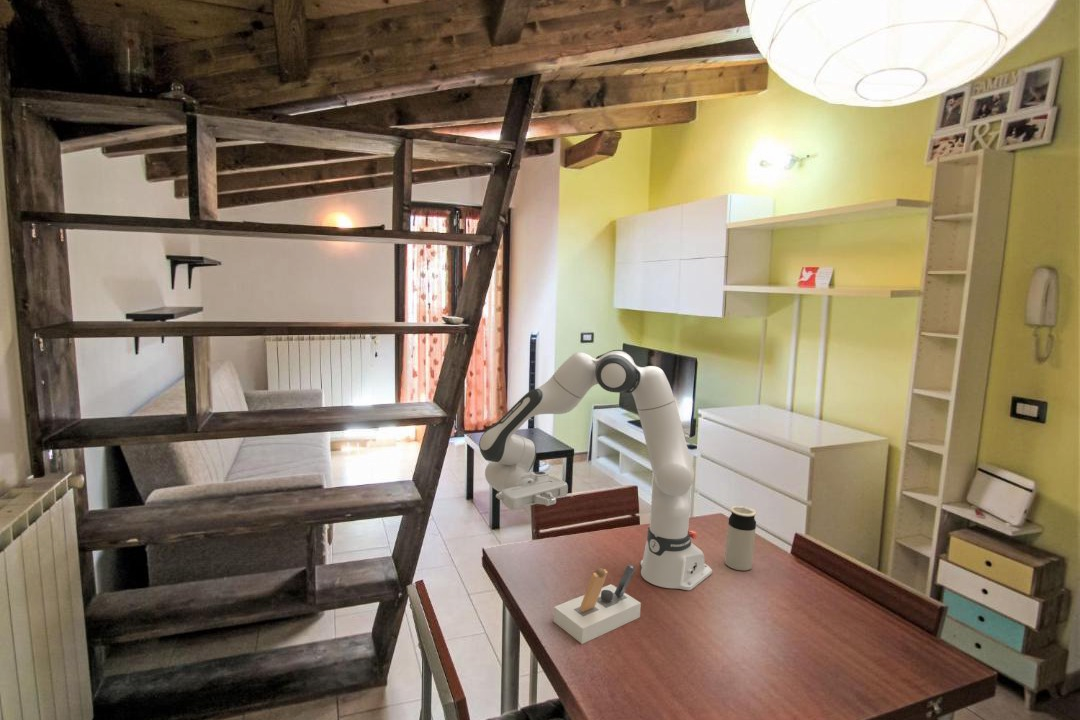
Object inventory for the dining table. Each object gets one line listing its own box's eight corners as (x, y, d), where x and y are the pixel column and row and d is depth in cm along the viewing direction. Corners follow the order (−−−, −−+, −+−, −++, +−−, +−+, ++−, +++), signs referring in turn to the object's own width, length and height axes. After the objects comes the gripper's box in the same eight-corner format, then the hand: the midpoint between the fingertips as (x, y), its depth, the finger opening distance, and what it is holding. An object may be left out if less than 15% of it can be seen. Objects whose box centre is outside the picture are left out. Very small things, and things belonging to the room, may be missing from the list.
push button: (606, 593, 152) (607, 588, 152) (614, 598, 150) (615, 593, 150) (598, 597, 150) (598, 592, 150) (606, 602, 148) (606, 597, 148)
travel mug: (748, 574, 176) (754, 517, 173) (721, 566, 180) (726, 511, 177) (754, 563, 182) (759, 509, 180) (728, 556, 186) (733, 503, 184)
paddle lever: (590, 602, 148) (604, 564, 143) (595, 608, 146) (610, 570, 141) (578, 607, 145) (592, 568, 140) (583, 613, 144) (598, 575, 139)
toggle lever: (618, 589, 154) (632, 561, 149) (624, 596, 152) (638, 568, 148) (612, 592, 152) (625, 563, 148) (618, 599, 151) (631, 570, 146)
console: (610, 597, 159) (611, 583, 159) (639, 617, 151) (640, 602, 150) (553, 621, 147) (554, 606, 147) (581, 644, 139) (582, 627, 138)
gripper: (492, 483, 162) (521, 499, 151) (550, 470, 175) (580, 483, 164) (492, 505, 163) (520, 522, 152) (549, 490, 175) (579, 505, 165)
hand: (552, 502), depth 158 cm, fingers closed
